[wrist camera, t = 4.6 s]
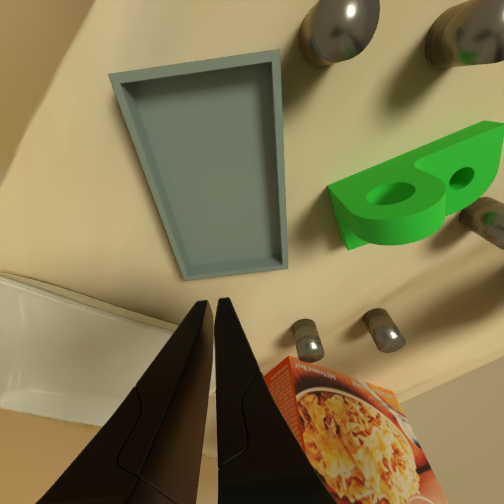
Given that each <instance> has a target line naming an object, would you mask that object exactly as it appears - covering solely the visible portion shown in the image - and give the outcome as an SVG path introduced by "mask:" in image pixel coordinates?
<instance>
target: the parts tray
mask: <svg viewBox="0 0 504 504" xmlns="http://www.w3.org/2000/svg"><path fill="white" fill-rule="evenodd" d="M108 76H109V78H110V81H111V84H112V87H113V89H114V92H115V95H116V97H117V100H118V103H119V106H120V108H121V111H122V114H123V116H124V119H125V122H126V124H127V127H128V130H129V133H130V135H131V138H132V141H133V143H134V146H135V149H136V152H137V154H138V157H139V160H140V162H141V165H142V168H143V171H144V173H145V176H146V179H147V181H148V184H149V187H150V189H151V192H152V195H153V198H154V200H155V203H156V206H157V208H158V211H159V214H160V217H161V219H162V222H163V225H164V227H165V230H166V233H167V235H168V238H169V241H170V244H171V246H172V249H173V252H174V254H175V257H176V260H177V263H178V265H179V268H180V271H181V273H182V276H183V279H184V281H187V280H195V279H204V278H213V277H222V276H230V275H239V274H248V273H256V272H265V271H274V270H283V269H288V249H287V222H286V195H285V168H284V141H283V114H282V87H281V60H280V49H277V50H270V51H263V52H256V53H249V54H242V55H236V56H229V57H222V58H215V59H208V60H201V61H194V62H187V63H181V64H174V65H167V66H160V67H153V68H146V69H139V70H132V71H126V72H119V73H112V74H108Z"/></svg>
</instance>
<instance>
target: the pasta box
mask: <svg viewBox="0 0 504 504" xmlns="http://www.w3.org/2000/svg"><path fill="white" fill-rule="evenodd" d="M264 380H265V382H266V384H267V386H268V389H269V391H270V393H271V395H272V397H273V399H274V401H275V403H276V405H277V406H278V408H279V410H280V412H281V414H282V415H283V417H284V419H285V421H286V422H287V424H288V426H289V427H290V429H291V431H292V432H293V434H294V436H295V437H296V439H297V441H298V442H299V444H300V446H301V448H302V449H303V451H304V453H305V454H306V456H307V458H308V459H309V461H310V463H311V464H312V466H313V468H314V469H315V471H316V472H317V474H318V475H319V477H320V479H321V480H322V482H323V483H324V484H325V486H326V487H327V489H328V490H329V492H330V493H331V494H332V496H333V497H334V498H335V500H336V501H337V502H338V504H449V503H448V501H447V499H446V497H445V495H444V493H443V491H442V489H441V487H440V485H439V483H438V481H437V479H436V477H435V475H434V473H433V471H432V469H431V467H430V465H429V463H428V461H427V459H426V457H425V455H424V453H423V451H422V449H421V447H420V445H419V443H418V441H417V439H416V437H415V435H414V433H413V431H412V429H411V427H410V425H409V423H408V421H407V419H406V417H405V415H404V413H403V411H402V409H401V407H400V405H399V403H398V401H397V399H396V397H395V395H394V393H393V392H392V391H389V390H386V389H383V388H381V387H378V386H375V385H372V384H369V383H366V382H363V381H360V380H357V379H355V378H352V377H349V376H346V375H343V374H340V373H337V372H334V371H331V370H328V369H326V368H323V367H320V366H317V365H314V364H311V363H305V362H302V361H300V360H299V359H297V358H294V357H291V356H288V357H287V358H285V359H284V360H283V361H282V362H281V363H279V364H278V365H277V366H276V367H275V368H274V369H272V370H271V371H270V372H269V373H268V374H266V375H265V376H264Z"/></svg>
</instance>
